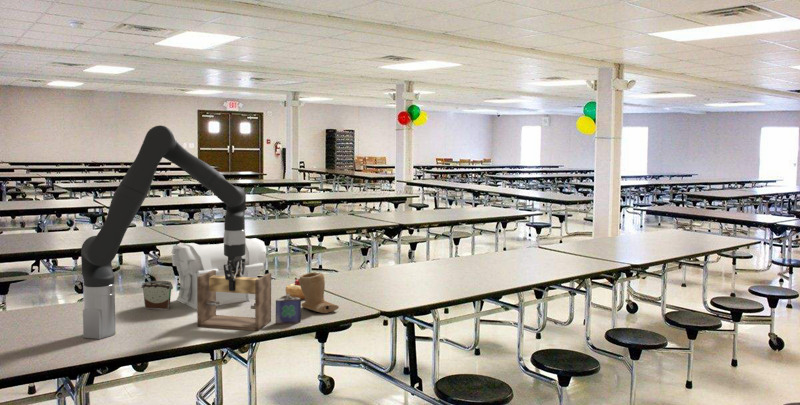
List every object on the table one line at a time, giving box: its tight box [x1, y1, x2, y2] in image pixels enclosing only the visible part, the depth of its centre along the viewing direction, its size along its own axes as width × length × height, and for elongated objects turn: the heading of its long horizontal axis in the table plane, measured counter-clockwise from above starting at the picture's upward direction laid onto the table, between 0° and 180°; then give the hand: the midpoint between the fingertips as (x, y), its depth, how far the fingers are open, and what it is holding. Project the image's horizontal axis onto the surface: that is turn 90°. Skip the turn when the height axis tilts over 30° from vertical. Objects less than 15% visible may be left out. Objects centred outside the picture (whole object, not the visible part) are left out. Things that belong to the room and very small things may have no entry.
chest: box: [170, 237, 267, 310], centre depth 253 cm, size 35×23×25 cm, turn 132°
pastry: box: [285, 278, 305, 300], centre depth 262 cm, size 12×12×9 cm
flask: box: [275, 293, 302, 325], centre depth 223 cm, size 9×3×11 cm, turn 109°
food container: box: [140, 280, 174, 311], centre depth 240 cm, size 12×6×10 cm, turn 84°
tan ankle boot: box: [298, 271, 340, 314], centre depth 241 cm, size 15×12×15 cm
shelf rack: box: [196, 270, 272, 332], centre depth 219 cm, size 12×23×18 cm, turn 81°
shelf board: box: [209, 275, 259, 294], centre depth 219 cm, size 18×4×5 cm, turn 81°
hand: (234, 289), depth 219 cm, fingers closed on shelf board, 4 cm apart
